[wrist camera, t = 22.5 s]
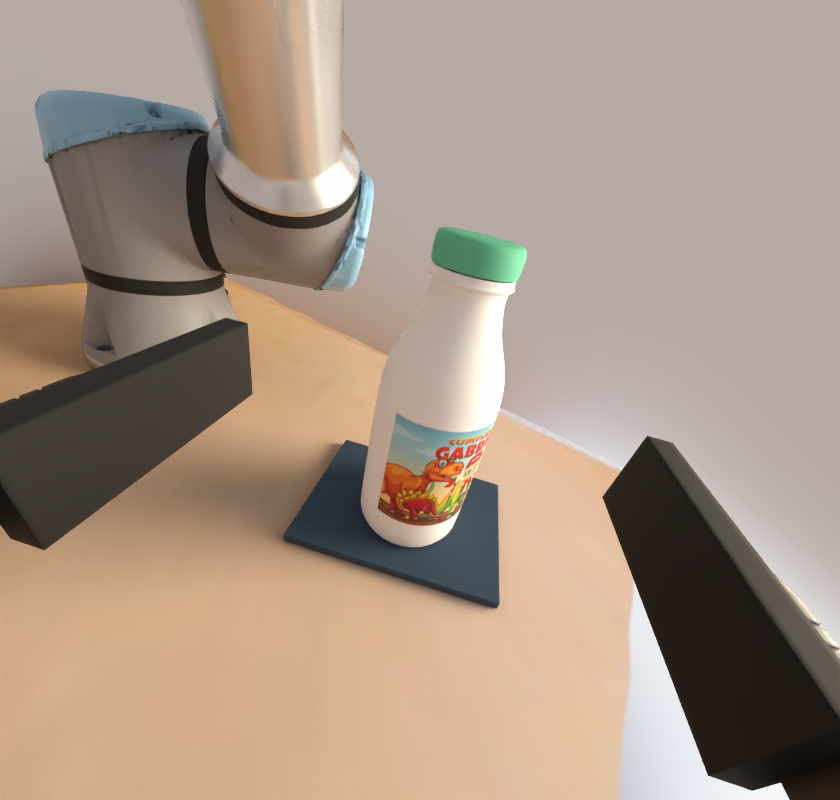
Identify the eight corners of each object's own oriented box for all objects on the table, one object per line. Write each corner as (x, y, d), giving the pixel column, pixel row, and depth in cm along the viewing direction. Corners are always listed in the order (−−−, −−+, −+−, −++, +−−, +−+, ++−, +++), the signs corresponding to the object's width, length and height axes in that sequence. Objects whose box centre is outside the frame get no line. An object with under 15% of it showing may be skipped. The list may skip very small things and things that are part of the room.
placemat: (283, 540, 23) (283, 534, 22) (345, 444, 32) (346, 439, 32) (496, 609, 22) (499, 604, 21) (495, 489, 31) (497, 484, 31)
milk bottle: (338, 514, 24) (373, 211, 14) (392, 459, 31) (444, 220, 20) (429, 572, 22) (550, 260, 12) (468, 500, 28) (570, 254, 18)
